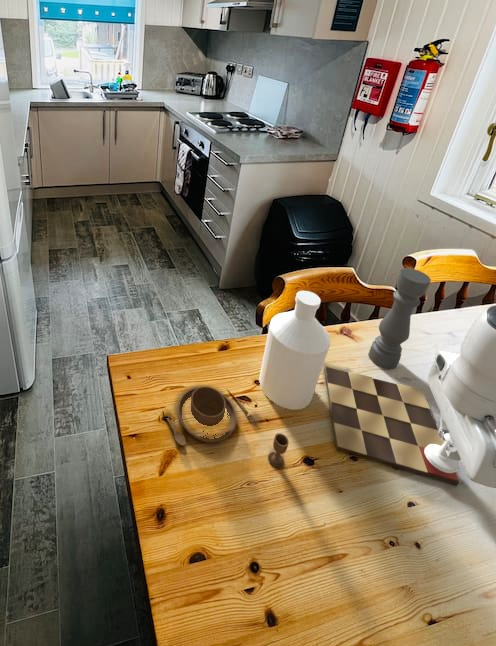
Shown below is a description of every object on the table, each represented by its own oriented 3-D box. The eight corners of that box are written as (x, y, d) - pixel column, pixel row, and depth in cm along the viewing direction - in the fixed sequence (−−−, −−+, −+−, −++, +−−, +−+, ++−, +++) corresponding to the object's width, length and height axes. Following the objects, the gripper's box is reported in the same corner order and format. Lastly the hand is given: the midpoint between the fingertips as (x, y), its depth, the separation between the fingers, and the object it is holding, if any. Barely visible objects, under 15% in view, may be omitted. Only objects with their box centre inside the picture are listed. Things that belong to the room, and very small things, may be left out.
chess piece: (427, 440, 76) (446, 404, 71) (459, 459, 72) (480, 423, 68) (421, 458, 72) (440, 422, 68) (454, 479, 69) (476, 442, 65)
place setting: (223, 380, 90) (226, 361, 87) (289, 463, 73) (295, 442, 71) (155, 408, 83) (157, 388, 80) (211, 507, 66) (215, 486, 64)
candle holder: (391, 374, 93) (427, 288, 83) (364, 358, 97) (394, 274, 87) (400, 360, 97) (435, 276, 86) (373, 345, 101) (404, 264, 91)
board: (420, 393, 88) (422, 389, 87) (457, 486, 71) (460, 481, 70) (323, 370, 93) (325, 365, 93) (336, 450, 76) (337, 446, 75)
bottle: (281, 418, 82) (307, 325, 71) (247, 373, 92) (265, 286, 81) (325, 400, 86) (355, 310, 75) (287, 359, 96) (309, 275, 85)
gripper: (537, 460, 55) (497, 516, 61) (472, 352, 73) (446, 404, 79) (484, 445, 57) (450, 502, 63) (433, 344, 75) (410, 395, 81)
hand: (447, 446), depth 71 cm, fingers closed on chess piece
